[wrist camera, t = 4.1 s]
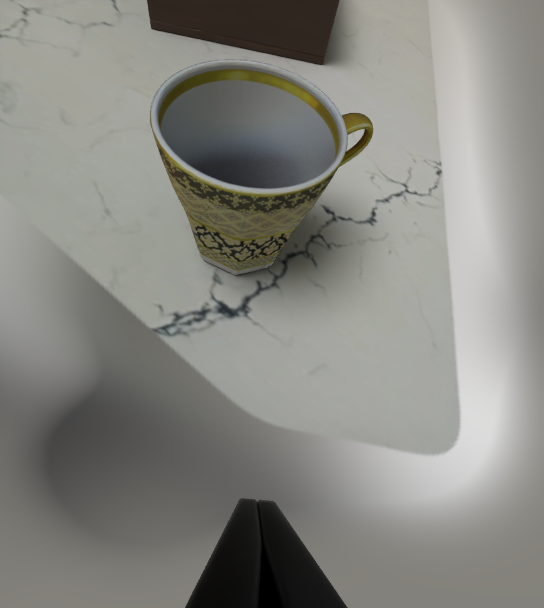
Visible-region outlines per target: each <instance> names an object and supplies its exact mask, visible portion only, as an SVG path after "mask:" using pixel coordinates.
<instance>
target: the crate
mask: <svg viewBox="0 0 544 608" xmlns="http://www.w3.org/2000/svg"><path fill="white" fill-rule="evenodd" d="M147 2H148V10H149V17H150V24H151V28H152V29H157V30H161V31H166V32H171V33H175V34H180V35H185V36H190V37H194V38H199V39H204V40H208V41H213V42H218V43H223V44H227V45H232V46H237V47H241V48H246V49H251V50H255V51H260V52H265V53H270V54H274V55H279V56H284V57H288V58H293V59H298V60H303V61H307V62H312V63H317V64H321V65H322V64H323V60H324V56H325V52H326V49H327V45H328V41H329V37H330V34H331V30H332V26H333V23H334V19H335V15H336V11H337V8H338V4H339V0H147Z"/></svg>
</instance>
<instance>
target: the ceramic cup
mask: <svg viewBox="0 0 544 608" xmlns="http://www.w3.org/2000/svg"><path fill="white" fill-rule="evenodd" d="M150 123H151V127H152V131H153V134H154V137H155V140H156V143H157V146H158V149H159V152H160V155H161V158H162V161H163V163H164V166H165V168H166V171H167V173H168V176H169V178H170V181H171V183H172V186H173V188H174V190H175V192H176V194H177V196H178V198H179V200H180V202H181V204H182V206H183V207H184V209H185V211H186V214H187V217H188V219H189V222H190V225H191V228H192V231H193V234H194V237H195V240H196V243H197V246H198V249H199V251H200V254H201V257H202V259H203V260H205V261H206V262H209V263H211V264H213V265H215V266H217V267H219V268H221V269H223V270H225V271H227V272H229V273H232V274H234V275H238V274H242V273H247V272H251V271H255V270H259V269H264V268H268V267H270V266H271V265H272V264H273V262H274V261H275V260H276V258H277V256H278V254H279V253H280V251H281V250H282V248H283V246H284V245H285V243H286V242H287V240H288V239H289V237H290V235H291V234H292V232H293V231H294V229H295V228H296V226H297V225H298V224H299V223H300V222H301V221H302V219H303V218H304V217H305V216H306V215H307V213H308V212H309V211H310V210H311V208H312V207H313V206H314V204H315V203H316V201H317V200H318V198H319V197H320V196H321V194H322V193H323V191H324V190H325V188H326V187H327V185H328V184H329V182H330V180H331V179H332V177H333V176H334V174H335V172H336V171H337V169H338V167H340V166H341V165H343V164H345V163H346V162H348V161H349V160H351V159H352V158H354V157H355V156H357V155H358V154H359V153H360V152H361V151H362V150H363V149H364V148H365V147H366V146H367V145H368V143H369V142H370V140H371V138H372V134H373V126H372V123H371V121H370V119H369V118H368V117H366V116H365V115H363V114H360V113H349V114H345V115H341V114H340V112H339V110H338V109H337V107H336V106H335V105H334V103H333V102H332V101H331V100H330V99H329V98H328V97H327V96H326V95H325V94H324V93H323V92H322V91H321V90H320V89H318V88H317V87H316V86H315V85H313V84H312V83H310V82H308V81H307V80H305V79H304V78H302V77H300V76H298V75H296V74H294V73H292V72H289V71H287V70H285V69H282V68H279V67H276V66H273V65H269V64H265V63H260V62H255V61H247V60H215V61H209V62H204V63H200V64H196V65H193V66H190V67H188V68H186V69H183V70H181V71H179V72H177V73H176V74H174V75H173V76H171V77H170V78H169V79H168V80H166V81H165V82H164V83H163V84H162V85H161V87H160V88H159V89H158V91H157V92H156V94H155V96H154V98H153V101H152V104H151V110H150ZM360 129H365V132H364V134H363V136H362V138H361V139H360V140H359V141H358V143H357V144H356V145H354V146H353V147H352V148H351V149H349V150H348V151H346V149H347V141H348V137H347V135H348V134H350V133H353V132H355V131H357V130H360Z"/></svg>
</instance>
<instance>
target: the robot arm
mask: <svg viewBox="0 0 544 608" xmlns="http://www.w3.org/2000/svg"><path fill="white" fill-rule="evenodd" d="M185 608H347V606H346V605H345V604H344V602H343V601H342V599H341V598H340V596H339V595H338V593H337V592H336V591H335V589H334V588H333V586H332V585H331V583H330V582H329V580H328V579H327V577H326V576H325V575H324V573H323V571H322V570H321V569H320V568H319V566H318V564H317V563H316V561H315V560H314V558H313V557H312V556H311V554H310V553H309V551H308V550H307V548H306V547H305V545H304V544H303V543H302V541H301V540H300V538H299V537H298V535H297V534H296V532H295V531H294V529H293V528H292V526H291V525H290V523H289V522H288V521H287V519H286V518H285V516H284V515H283V513H282V512H281V510H280V509H279V507H278V506H277V505H276V503H275V502H273V501H267V500H259V501H258V502H257V501H256V500H255V499H245V498H241V499H240V500H239V502H238V504H237V506H236V508H235V510H234V512H233V514H232V516H231V517H230V520H229V522H228V523H227V525H226V527H225V529H224V531H223V533H222V535H221V537H220V539H219V541H218V543H217V545H216V547H215V549H214V551H213V553H212V555H211V557H210V559H209V561H208V563H207V565H206V567H205V569H204V571H203V573H202V575H201V577H200V579H199V581H198V583H197V585H196V587H195V589H194V591H193V593H192V595H191V597H190V599H189V601H188V603H187V605H186V607H185Z"/></svg>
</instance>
